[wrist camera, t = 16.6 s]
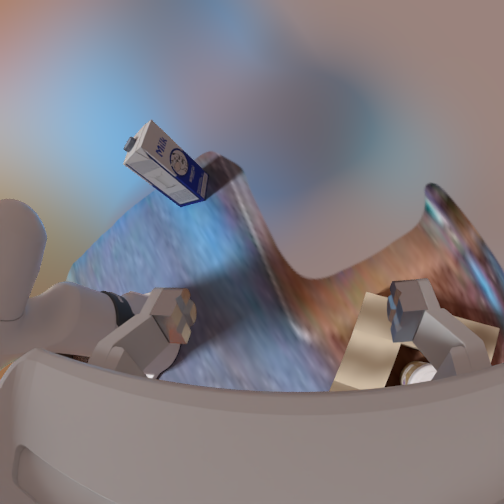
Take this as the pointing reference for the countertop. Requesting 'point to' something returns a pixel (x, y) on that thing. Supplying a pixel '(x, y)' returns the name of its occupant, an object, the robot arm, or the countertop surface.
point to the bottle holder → (384, 347)
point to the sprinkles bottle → (417, 373)
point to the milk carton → (165, 166)
